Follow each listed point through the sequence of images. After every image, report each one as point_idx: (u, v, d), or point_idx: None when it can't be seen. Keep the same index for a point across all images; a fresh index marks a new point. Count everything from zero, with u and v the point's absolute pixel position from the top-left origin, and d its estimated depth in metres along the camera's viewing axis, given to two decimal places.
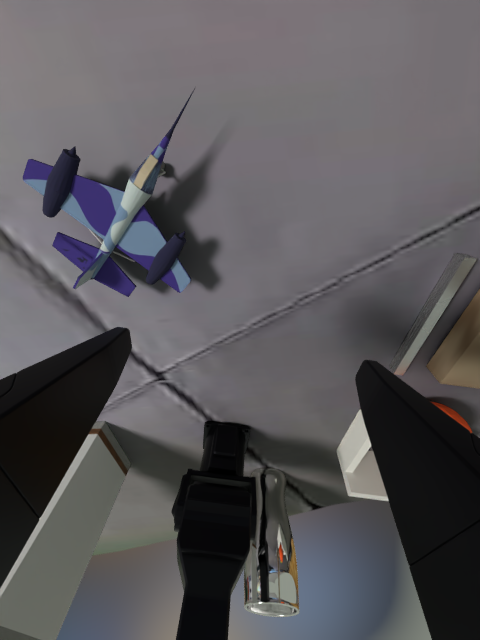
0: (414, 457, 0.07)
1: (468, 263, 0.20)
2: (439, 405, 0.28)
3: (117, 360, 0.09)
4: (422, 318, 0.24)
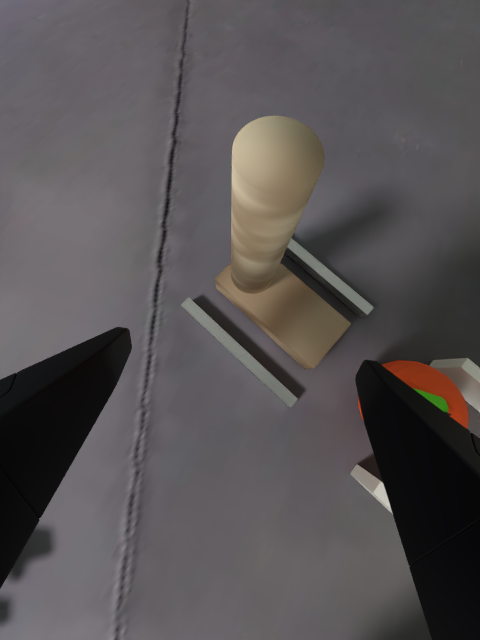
0: (414, 457, 0.07)
1: (189, 303, 0.23)
2: None
3: (117, 360, 0.09)
4: (231, 352, 0.22)
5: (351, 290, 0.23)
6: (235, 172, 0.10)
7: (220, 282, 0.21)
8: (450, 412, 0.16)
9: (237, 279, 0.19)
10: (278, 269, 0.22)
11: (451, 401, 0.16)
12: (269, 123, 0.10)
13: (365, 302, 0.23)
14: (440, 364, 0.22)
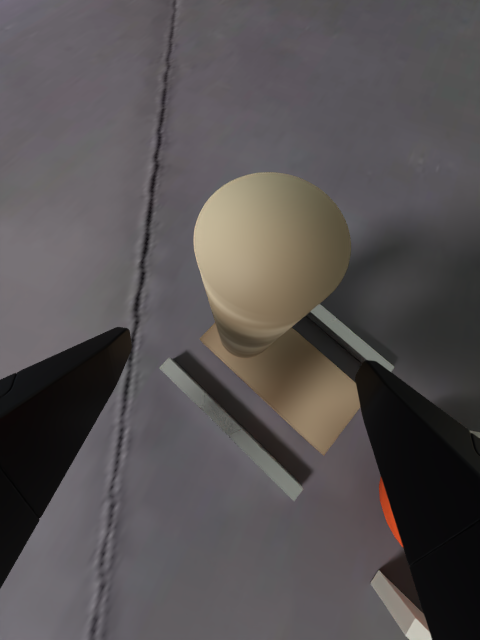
0: (414, 457, 0.07)
1: (169, 366, 0.18)
2: None
3: (117, 360, 0.09)
4: None
5: (366, 345, 0.19)
6: (200, 270, 0.06)
7: (206, 343, 0.17)
8: None
9: (225, 346, 0.15)
10: None
11: None
12: (257, 185, 0.06)
13: (384, 360, 0.19)
14: None
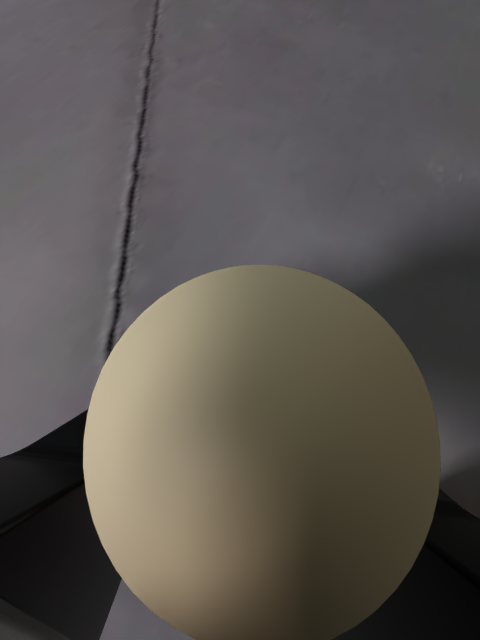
0: None
1: None
2: None
3: None
4: None
5: None
6: None
7: None
8: None
9: None
10: None
11: None
12: (233, 297, 0.03)
13: None
14: None
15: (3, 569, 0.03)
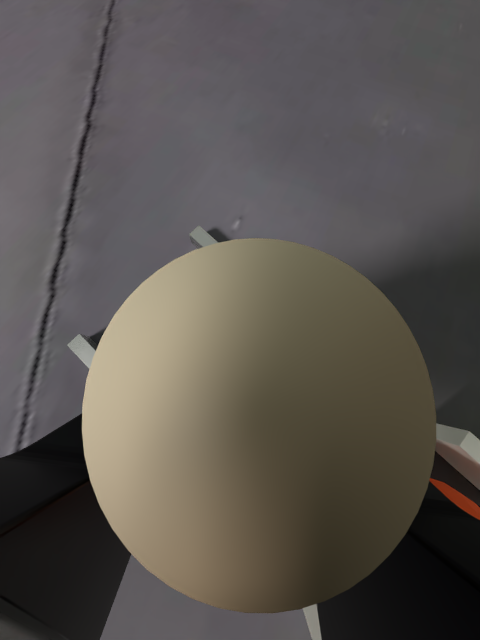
0: None
1: (78, 343, 0.16)
2: None
3: None
4: None
5: None
6: None
7: None
8: None
9: None
10: None
11: None
12: (231, 269, 0.03)
13: None
14: None
15: (4, 569, 0.03)
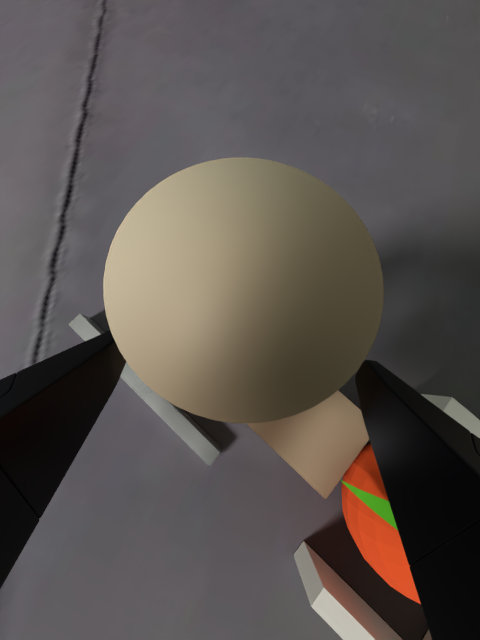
0: (414, 457, 0.07)
1: (79, 322, 0.17)
2: None
3: (117, 360, 0.09)
4: None
5: None
6: None
7: None
8: None
9: None
10: None
11: None
12: (222, 180, 0.04)
13: None
14: None
15: None
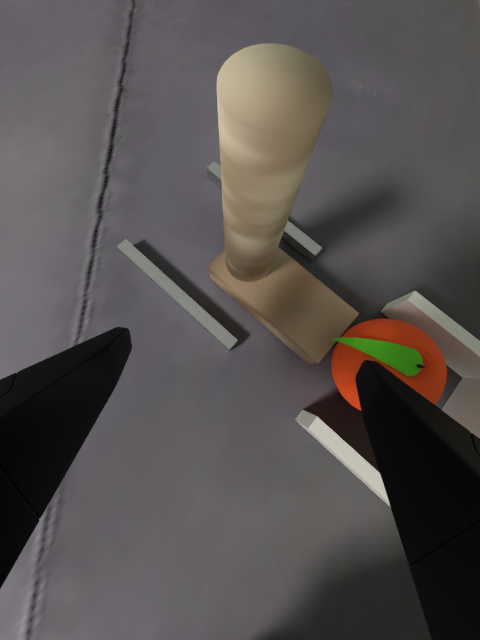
0: (414, 457, 0.07)
1: (125, 245, 0.21)
2: None
3: (117, 360, 0.09)
4: (169, 295, 0.21)
5: (298, 231, 0.22)
6: (221, 110, 0.08)
7: (214, 270, 0.19)
8: (425, 366, 0.15)
9: (232, 265, 0.17)
10: (277, 255, 0.20)
11: (426, 354, 0.15)
12: (263, 51, 0.08)
13: (313, 243, 0.22)
14: (391, 304, 0.21)
15: None
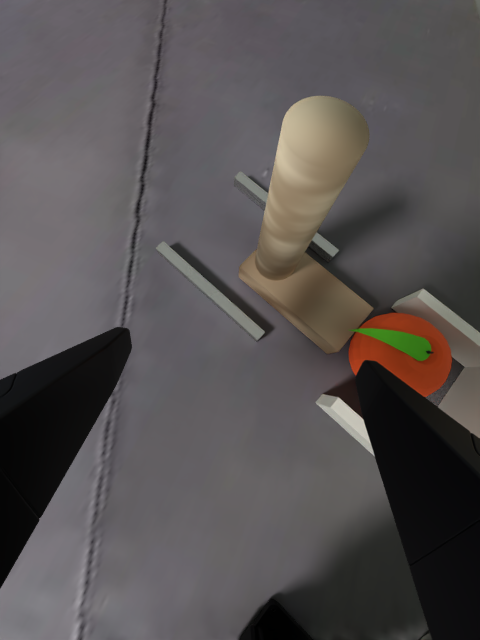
0: (414, 457, 0.07)
1: (163, 247, 0.24)
2: None
3: (117, 360, 0.09)
4: (203, 292, 0.24)
5: (318, 235, 0.25)
6: (285, 148, 0.10)
7: (245, 269, 0.22)
8: (433, 352, 0.17)
9: (263, 265, 0.20)
10: (301, 256, 0.22)
11: (434, 342, 0.17)
12: (315, 102, 0.11)
13: (331, 245, 0.24)
14: (401, 301, 0.23)
15: None
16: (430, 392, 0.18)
